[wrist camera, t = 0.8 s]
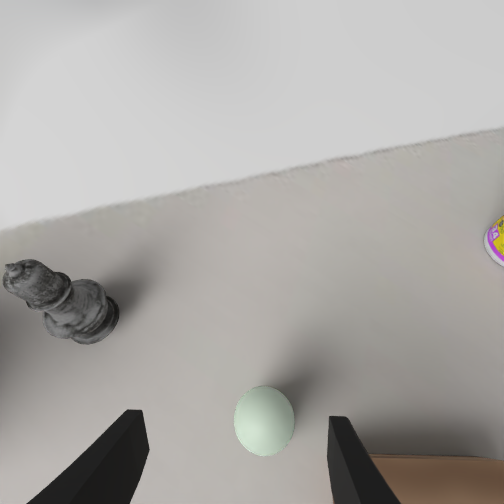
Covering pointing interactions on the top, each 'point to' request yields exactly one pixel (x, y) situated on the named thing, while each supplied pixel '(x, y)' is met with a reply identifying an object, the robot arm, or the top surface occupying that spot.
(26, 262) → the salt shaker
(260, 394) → the peg
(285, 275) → the top surface
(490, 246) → the supplement bottle
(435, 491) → the socket block
